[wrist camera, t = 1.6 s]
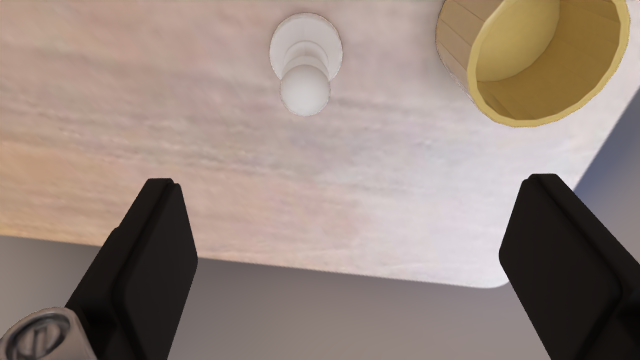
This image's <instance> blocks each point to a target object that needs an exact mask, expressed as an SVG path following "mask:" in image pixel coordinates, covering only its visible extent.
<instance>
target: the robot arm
mask: <svg viewBox="0 0 640 360" xmlns="http://www.w3.org/2000/svg"><path fill="white" fill-rule="evenodd" d="M499 261H500V264H501V266H502V268H503V270H504V271H505V273H506V275H507V277H508V279H509V281H510V283H511V285H512V286H513V288H514V290H515V292H516V294H517V296H518V298H519V300H520V302H521V304H522V305H523V307H524V309H525V311H526V313H527V315H528V317H529V319H530V320H531V322H532V324H533V326H534V328H535V330H536V332H537V334H538V336H539V338H540V339H541V341H542V343H543V345H544V347H545V349H546V351H547V353H548V355H549V356H550V358H551V360H640V264H639V263H638V262H637V261H636V260H635V259H634V258H633V256H632V255H631V254H630V253H629V252H628V251H627V250H626V249H625V248H624V247H623V246H622V245H621V244H620V242H619V241H617V239H616V238H615V237H614V236H613V235H612V234H611V233H610V232H609V231H608V229H607V228H606V227H605V226H604V225H603V224H602V223H601V222H600V221H599V220H598V218H597V217H595V215H594V214H593V213H592V212H591V211H590V210H589V209H588V208H587V207H586V205H584V203H583V202H582V201H581V200H580V199H579V198H578V197H577V196H576V195H575V194H574V192H573V191H572V190H571V189H570V188H569V187H568V186H567V185H566V184H565V183H564V182H563V181H562V179H561V178H560V177H559V176H558V175H556V174H532V175H530V176H529V178H528V179H525V180H524V181H523V182H522V184H521V187H520V190H519V193H518V196H517V199H516V202H515V205H514V208H513V211H512V214H511V217H510V220H509V223H508V226H507V229H506V232H505V235H504V238H503V241H502V244H501V247H500V250H499ZM197 263H198V257H197V252H196V248H195V243H194V239H193V235H192V231H191V227H190V223H189V219H188V215H187V210H186V206H185V202H184V198H183V194H182V190H181V186H180V185H179V184H178V183H174V182H173V180H172V179H171V178H150V179H148V180H147V181H146V183H145V184H144V186H143V188H142V189H141V191H140V193H139V194H138V196H137V197H136V199H135V201H134V202H133V204H132V206H131V207H130V209H129V210H128V212H127V214H126V215H125V217H124V219H123V220H122V222H121V223H120V225H119V227H117V228H115V229H114V230H113V231H112V232H111V233H110V235H109V237H108V238H107V240H106V241H105V243H104V245H103V246H102V248H101V249H100V251H99V253H98V254H97V256H96V257H95V259H94V261H93V262H92V264H91V265H90V267H89V269H88V270H87V272H86V273H85V275H84V276H83V278H82V280H81V282H80V283H79V284H78V286H77V288H76V289H75V291H74V292H73V294H72V296H71V297H70V299H69V300H68V302H67V304H66V305H65V307H52V308H46V309H42V310H39V311H37V312H34V313H31V314H30V315H28V316H26V317H24V318H23V319H21V320H19V321H18V322H17V323H16V324H14V325H13V326H12V327H11V328H9V329H8V330H7V332H6V333H5V334H4V335H3V337H2V338H1V339H0V360H167V358H168V355H169V352H170V348H171V345H172V342H173V339H174V336H175V333H176V330H177V327H178V324H179V321H180V318H181V315H182V312H183V308H184V305H185V302H186V299H187V296H188V293H189V290H190V287H191V284H192V281H193V278H194V275H195V272H196V269H197Z"/></svg>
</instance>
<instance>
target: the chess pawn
mask: <svg viewBox="0 0 640 360" xmlns="http://www.w3.org/2000/svg"><path fill="white" fill-rule="evenodd" d="M342 56H343V51H342V45H341V40H340V37H339V35H338V33H337V30H336V29H335V28H334V26H333V25H332V24H331V23H330V22H329V21H328V20H326V19H325V18H323V17H322V16H319V15H316V14H314V13H299V14H294V15H292V16H290V17H288V18H286V19H285V20H284V21H283V22H282V23H281V24H280V25H279V26H278V27H277V29H276V31H275V32H274V34H273V38H272V41H271V45H270V55H269V58H270V62H271V65H272V68H273V70H274V72H275V73H276V75H277V76H278V77H279V78H280V79H281V84H280V96H281V100H282V102H283V103H284V105H285V107H286V108H287V109H288V110H289V111H291V112H292V113H294V114H296V115H299V116H312V115H314V114H317V113H319V112H320V111H321V110H322V109H323V108H324V107H325V106H326V104H327V103H328V100H329V98H330V90H331V89H330V83H329V82H330V81H331V80H332V79H333V78H334V77H335V76H336V74H337V73H338V71H339V69H340V66H341V64H342Z"/></svg>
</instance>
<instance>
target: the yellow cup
mask: <svg viewBox="0 0 640 360" xmlns="http://www.w3.org/2000/svg"><path fill="white" fill-rule="evenodd" d="M629 30H630V15H629V12H628V8H627V4H626V1H625V0H446V1H445V3H444V5H443V7H442V9H441V12H440V15H439V18H438V22H437V28H436V45H437V50H438V54H439V56H440V59H441V61H442V63H443V64H444V66H445V67H446V69H447V70H448V72H449V73H450V75H451V76H452V77H453V78H454V80H455V81H456V82H457V83H458V85H459V86H460V87H461V88H462V90H463V91H464V92H465V93H466V94H467V96H468V97H469V98H470V99H471V101H472V102H473V103H474V104H475V106H476V107H477V108H478V109H479V110H480V111H481V112H482V113H484V114H485V115H486V116H487V117H489V118H490V119H491V120H493V121H494V122H497V123H501V124H504V125H507V126H511V127H537V126H540V125H544V124H548V123H551V122H555V121H558V120H560V119H562V118H564V117H565V116H567V115H569V114H571V113H573V112H575V111H576V110H578V109H580V108H581V107H583V106H584V105H585V104H586V103H587V102H589V101H590V100H591V99H592V98H593V97H594V96H595V95H597V94H598V93H599V92H600V91H601V90H602V89H603V88H604V86H605V85H606V84H607V82H608V81H609V80H610V78H611V77H612V76H613V74H614V73H615V72H616V70H617V68H618V67H619V64H620V62H621V60H622V57H623V55H624V53H625V50H626V48H627V45H628V40H629Z"/></svg>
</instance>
